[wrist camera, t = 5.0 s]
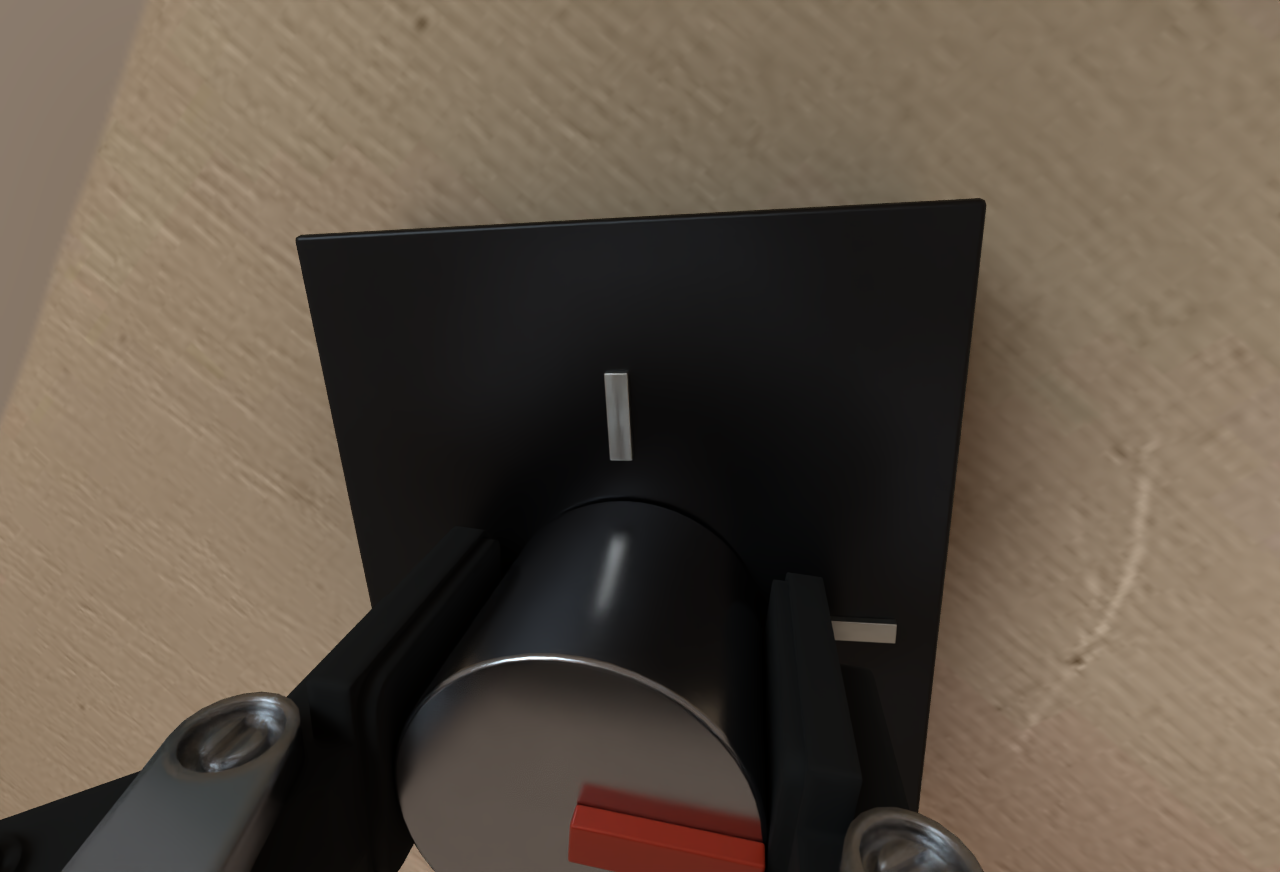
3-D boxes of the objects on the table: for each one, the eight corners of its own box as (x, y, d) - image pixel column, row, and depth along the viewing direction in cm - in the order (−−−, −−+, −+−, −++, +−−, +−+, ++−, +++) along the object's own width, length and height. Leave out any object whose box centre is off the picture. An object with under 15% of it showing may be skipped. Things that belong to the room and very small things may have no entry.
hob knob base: (392, 231, 13) (284, 235, 10) (928, 203, 11) (993, 197, 8) (477, 752, 17) (418, 867, 14) (878, 790, 15) (909, 929, 12)
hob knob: (508, 695, 12) (387, 933, 8) (511, 482, 11) (365, 641, 7) (742, 740, 12) (738, 1021, 7) (781, 521, 10) (800, 722, 6)
